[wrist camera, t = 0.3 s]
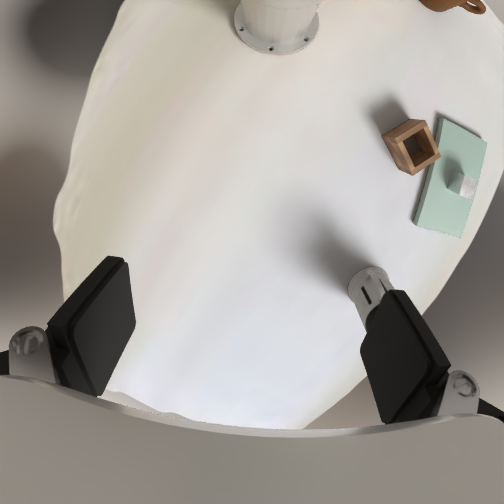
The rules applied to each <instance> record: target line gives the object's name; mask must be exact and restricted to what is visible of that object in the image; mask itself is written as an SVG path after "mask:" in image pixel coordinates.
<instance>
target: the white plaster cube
mask: <svg viewBox="0 0 504 504" xmlns="http://www.w3.org/2000/svg"><path fill="white" fill-rule="evenodd" d="M476 185H477V181H476V180H474V179H472V178H470V177H468V176H466V175H464V174H461V173H459V172H456V171H454V170H452V171H451V175H450V179H449V182H448V186H447V189H449V190H451V191H453V192H454V193H456V194H458V195H461V196H463V197H465V198H468V199H470V200H472V199H473V196H474V192H475V189H476Z"/></svg>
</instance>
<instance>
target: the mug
mask: <svg viewBox="0 0 504 504" xmlns="http://www.w3.org/2000/svg"><path fill="white" fill-rule="evenodd" d="M467 1H468V2H470V3H472V4H474V5H476V6H472V5H470V4H468V3H467ZM420 2H421V3H422V4H423V5H425V6H426V7H427V8H429V9H431V10H433V11H436V12H443V11H446V10H448V9H451V8H453V7H456V6H460V7H463V8H464V9H466V10H467V11H469V12H471V13H474V14H483V13H485V11H486V7H485V5H484V4H483V3H482V2H481V1H480V0H420Z"/></svg>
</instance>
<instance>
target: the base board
mask: <svg viewBox="0 0 504 504" xmlns="http://www.w3.org/2000/svg"><path fill="white" fill-rule="evenodd" d="M435 143H436V145H437V148H438V150H439V153H440V155H441V157H440V158H439V159H437V160H436V161H434V162H433V163H431V164H430V165H429V169H428V173H427V177H426V181H425V185H424V188H423V192H422V195H421V199H420V202H419V205H418V209H417V212H416V215H415V218H414V221H413V224H415V225H416V226H418V227H422V228H426V229H430V230H433V231H437V232H440V233H444V234H448V235H451V236H455V237H458V238H461V235H462V233H463V230H464V227H465V224H466V221H467V218H468V215H469V212H470V209H471V206H472V202H473V199H474V196H475V192H476V189H477V185H478V181H479V177H480V173H481V169H482V165H483V160H484V156H485V151H486V145H487V142H485V141H484V140H482V139H480V138H479V137H477V136H475V135H474V134H472V133H470V132H468V131H467V130H465V129H463V128H461V127H459V126H458V125H456V124H454V123H452V122H450V121H448V120H446V119H444V118H439V123H438V128H437V133H436V138H435ZM452 170H454V171H456V172H459V173H461V174H464V175H466V176H468V177H470V178H472V179H474V180H476V181H477V185H476V189H475V192H474V196H473V199H472V200H470V199H468V198H465V197H463V196H461V195H458V194H456V193H454V192H453V191H451V190H449V189H447V186H448V182H449V179H450V175H451V171H452Z"/></svg>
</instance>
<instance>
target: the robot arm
mask: <svg viewBox="0 0 504 504" xmlns="http://www.w3.org/2000/svg"><path fill="white" fill-rule="evenodd" d="M321 2H322V0H241V2H240V3H239V4H238V6H237V8H236V10H235V13H234V25H235V29H236V31H237V33H238V35H239V37H240V38H241V39H242V40H243V41H244V42H245V43H246V44H247V45H248V46H250V47H251V48H253V49H255V50H257V51H260V52H262V53H266V54H271V55H286V54H291V53H295V52H297V51H300V50H302V49H303V48H305V47H306V46H308V45H309V44H310V43H311V42H312V40H313V39H314V37H315V36H316V34H317V31H318V27H319V18H318V15H317V12H316V11H317V10H318V8H319V6H320V4H321ZM241 29H243V31H240V30H241ZM304 39H306V40H307V42H306V41H304ZM269 49H273V50H272V51H270V50H269ZM47 325H48V328H47V329H46V330H45V331H44V330H43V329H42V328H40V327H36V326H30V327H26V328H22V329H20V330H19V331H18V332H16V333H15V334H14V335H13V336H12V338H11V340H10V343H9V350H7V351H4V352H0V504H504V412H503V411H501V410H500V409H498V408H496V407H494V406H493V405H491V404H489V403H487V402H486V401H484V400H482V399H480V398H479V395H480V389H479V386H478V383H477V381H476V380H475V378H474V377H472V376H471V375H470V374H469V373H467V372H465V371H462V370H455V371H453V372H451V373H450V374H449V373H448V371H447V370H448V369H449V368H450V366H451V364H450V362H449V360H448V358H447V357H446V355H445V353H444V352H443V350H442V348H441V347H440V345H439V343H438V342H437V340H436V338H435V337H434V335H433V333H432V332H431V330H430V329H429V327H428V326H427V324H426V322H425V321H424V319H423V318H422V316H421V315H420V313H419V312H418V310H417V309H416V307H415V306H414V304H413V303H412V301H411V300H410V298H409V297H408V295H407V294H406V292H405V291H403V290H393V289H390V290H389V291H388V292H387V293H384V294H383V296H382V299H381V301H380V304H379V306H378V309H377V311H376V313H375V316H374V318H373V320H372V323H371V325H370V327H369V329H368V331H367V334H366V336H365V338H364V340H363V342H362V344H361V348H360V354H361V357H362V360H363V363H364V366H365V369H366V372H367V375H368V378H369V381H370V384H371V388H372V391H373V394H374V397H375V401H376V404H377V407H378V411H379V414H380V418H381V421H382V422H383V423H385V425H378V426H370V427H358V428H344V429H323V430H322V429H320V430H286V429H263V428H249V427H238V426H228V425H220V424H212V423H205V422H199V421H192V420H186V419H181V418H176V417H170V416H165V415H161V414H156V413H152V412H147V411H143V410H139V409H136V408H132V407H128V406H124V405H121V404H117V403H114V402H110V401H107V400H103V399H100V398H97V396H101V395H102V394H103V392H104V390H105V388H106V386H107V384H108V381H109V379H110V377H111V375H112V373H113V371H114V369H115V367H116V365H117V363H118V361H119V359H120V357H121V355H122V353H123V351H124V349H125V347H126V345H127V343H128V341H129V339H130V337H131V335H132V333H133V331H134V329H135V325H136V319H135V313H134V306H133V300H132V292H131V284H130V276H129V267H128V263H127V262H124V259H123V258H121V257H114V256H107V257H106V258H105V259H104V260H103V261H102V262H101V263H100V264H99V265H98V266H97V267H96V268H95V269H94V270H93V271H92V273H91V274H90V275H89V276H88V277H87V278H86V279H85V280H84V281H83V282H82V283H81V284H80V286H79V287H78V288H77V289H76V290H75V291H74V292H73V293H72V295H71V296H70V297H69V298H68V299H67V300H66V301H65V303H64V304H63V305H62V306H61V307H60V308H59V310H58V311H57V312H56V313H55V315H54V316H53V317H52V318H51V319H50V321H49V322H48V323H47Z"/></svg>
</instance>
